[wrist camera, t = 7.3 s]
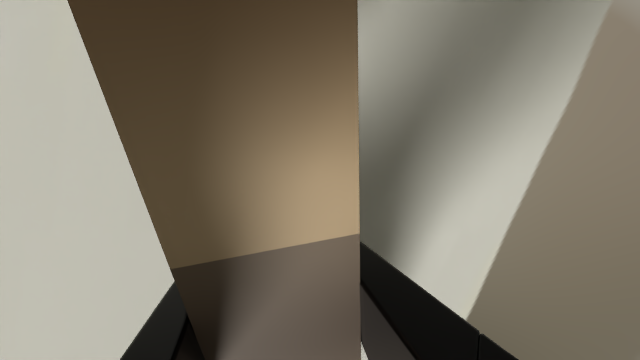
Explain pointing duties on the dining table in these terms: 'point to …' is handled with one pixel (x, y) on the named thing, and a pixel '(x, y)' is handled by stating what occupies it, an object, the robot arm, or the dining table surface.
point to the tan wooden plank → (244, 161)
